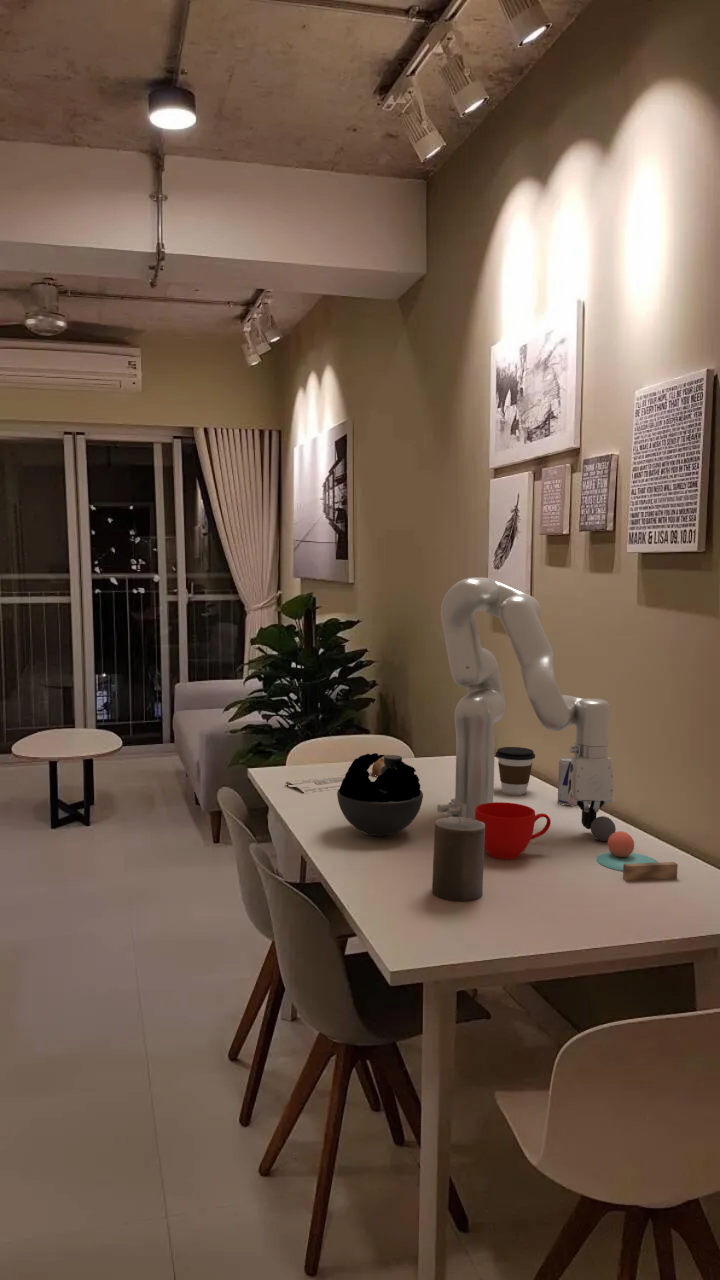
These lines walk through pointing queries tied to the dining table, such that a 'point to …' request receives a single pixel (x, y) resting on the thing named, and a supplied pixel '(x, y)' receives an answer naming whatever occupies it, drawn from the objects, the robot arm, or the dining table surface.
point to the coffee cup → (515, 769)
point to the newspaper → (318, 783)
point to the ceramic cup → (508, 828)
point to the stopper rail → (650, 871)
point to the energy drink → (563, 780)
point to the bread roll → (378, 766)
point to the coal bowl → (379, 797)
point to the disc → (622, 860)
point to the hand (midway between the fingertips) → (588, 827)
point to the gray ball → (602, 828)
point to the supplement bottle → (390, 762)
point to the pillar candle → (458, 859)
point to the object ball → (621, 844)
